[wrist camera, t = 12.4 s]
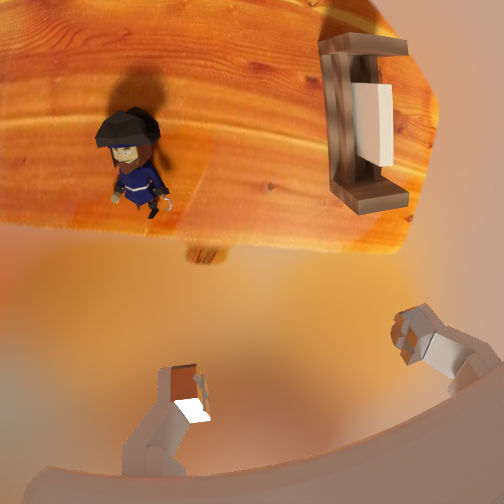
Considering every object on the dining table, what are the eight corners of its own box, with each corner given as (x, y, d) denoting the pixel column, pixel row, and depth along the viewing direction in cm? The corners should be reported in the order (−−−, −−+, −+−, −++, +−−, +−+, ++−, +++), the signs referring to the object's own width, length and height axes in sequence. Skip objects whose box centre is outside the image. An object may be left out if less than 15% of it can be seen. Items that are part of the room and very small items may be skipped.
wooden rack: (317, 42, 30) (348, 32, 22) (368, 45, 30) (406, 40, 23) (329, 190, 42) (358, 215, 34) (375, 184, 42) (407, 206, 35)
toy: (112, 220, 37) (79, 122, 26) (132, 193, 41) (109, 102, 30) (170, 226, 36) (146, 114, 25) (187, 196, 40) (171, 95, 29)
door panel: (345, 82, 32) (377, 83, 26) (358, 83, 33) (391, 84, 26) (349, 151, 38) (379, 166, 31) (361, 150, 38) (392, 165, 31)
